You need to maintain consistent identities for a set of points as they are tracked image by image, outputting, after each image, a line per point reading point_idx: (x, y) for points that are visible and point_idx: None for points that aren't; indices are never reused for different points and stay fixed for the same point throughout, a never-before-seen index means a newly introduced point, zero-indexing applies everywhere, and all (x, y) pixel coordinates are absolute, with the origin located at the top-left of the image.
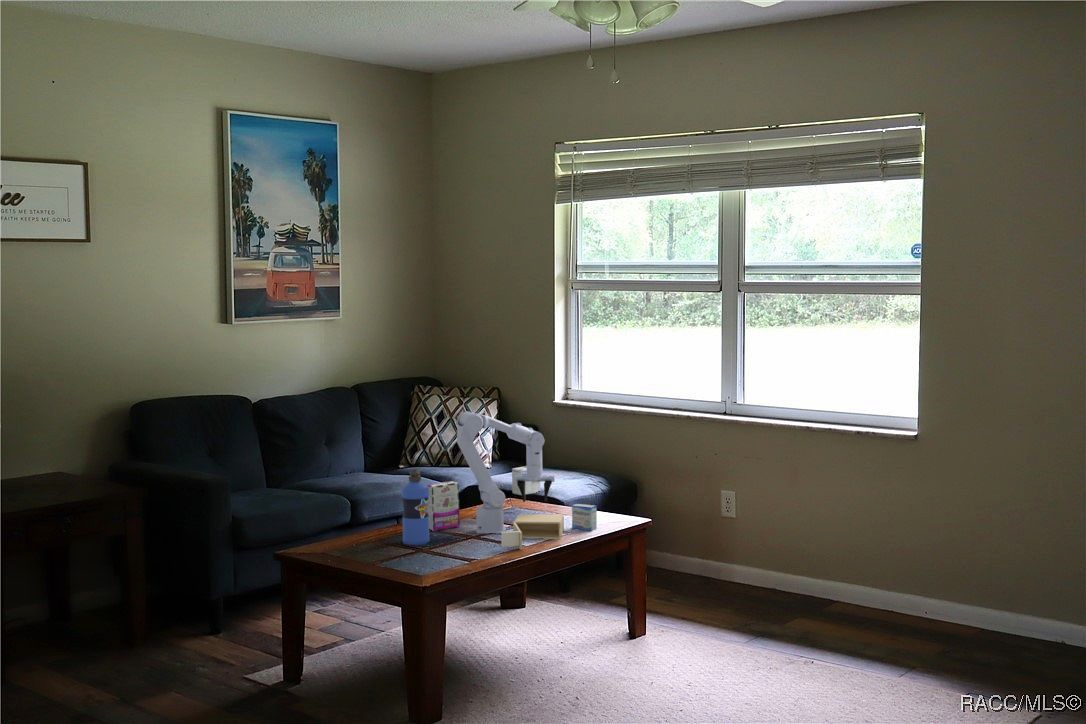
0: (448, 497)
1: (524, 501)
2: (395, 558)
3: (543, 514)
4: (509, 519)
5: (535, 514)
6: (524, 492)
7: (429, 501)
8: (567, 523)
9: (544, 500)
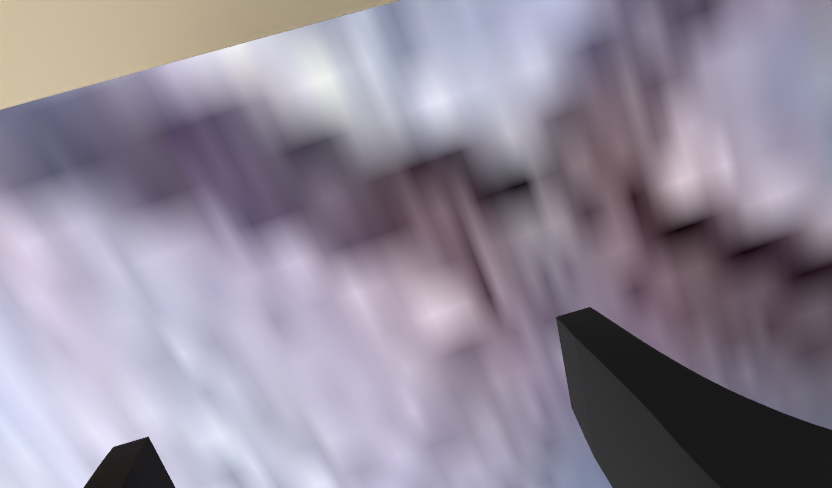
0: None
1: (565, 316)
2: None
3: (38, 82)
4: None
5: (195, 25)
6: (655, 481)
7: None
8: (49, 484)
9: (131, 456)
